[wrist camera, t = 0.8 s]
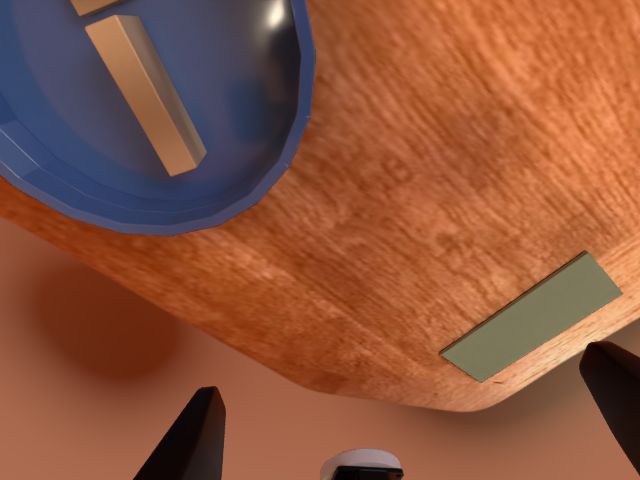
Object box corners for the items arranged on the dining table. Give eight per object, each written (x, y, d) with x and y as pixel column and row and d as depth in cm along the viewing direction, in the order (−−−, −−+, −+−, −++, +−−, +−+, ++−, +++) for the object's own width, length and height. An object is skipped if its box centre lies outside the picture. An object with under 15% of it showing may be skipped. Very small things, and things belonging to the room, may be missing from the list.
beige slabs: (26, -90, 14) (-21, -109, 12) (91, -120, 13) (55, -145, 11) (171, 165, 19) (156, 182, 17) (220, 148, 19) (211, 163, 17)
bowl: (376, 44, 17) (393, 49, 14) (200, 250, 23) (186, 285, 20) (48, -321, 11) (-40, -444, 8) (-85, 73, 17) (-168, 84, 14)
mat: (479, 380, 31) (481, 383, 31) (439, 352, 29) (440, 355, 28) (620, 291, 27) (623, 293, 26) (585, 250, 24) (588, 252, 24)
